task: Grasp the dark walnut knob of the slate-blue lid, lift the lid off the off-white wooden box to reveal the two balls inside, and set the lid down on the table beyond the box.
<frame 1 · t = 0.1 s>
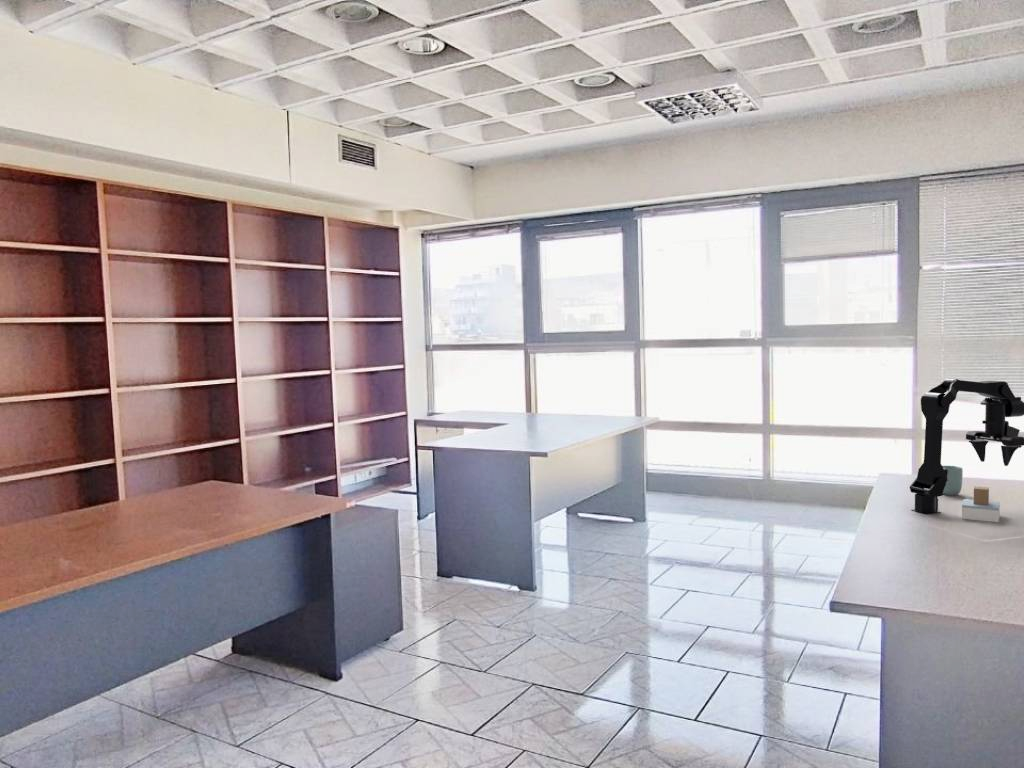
hand: (994, 463, 265), 15 cm above the table, fingers open, 9 cm apart
box: (980, 518, 250), on the table
lid: (981, 506, 250), point 4 cm above the table, touching box
ball terracotta: (981, 515, 252), resting on box
cup: (949, 494, 286), on the table
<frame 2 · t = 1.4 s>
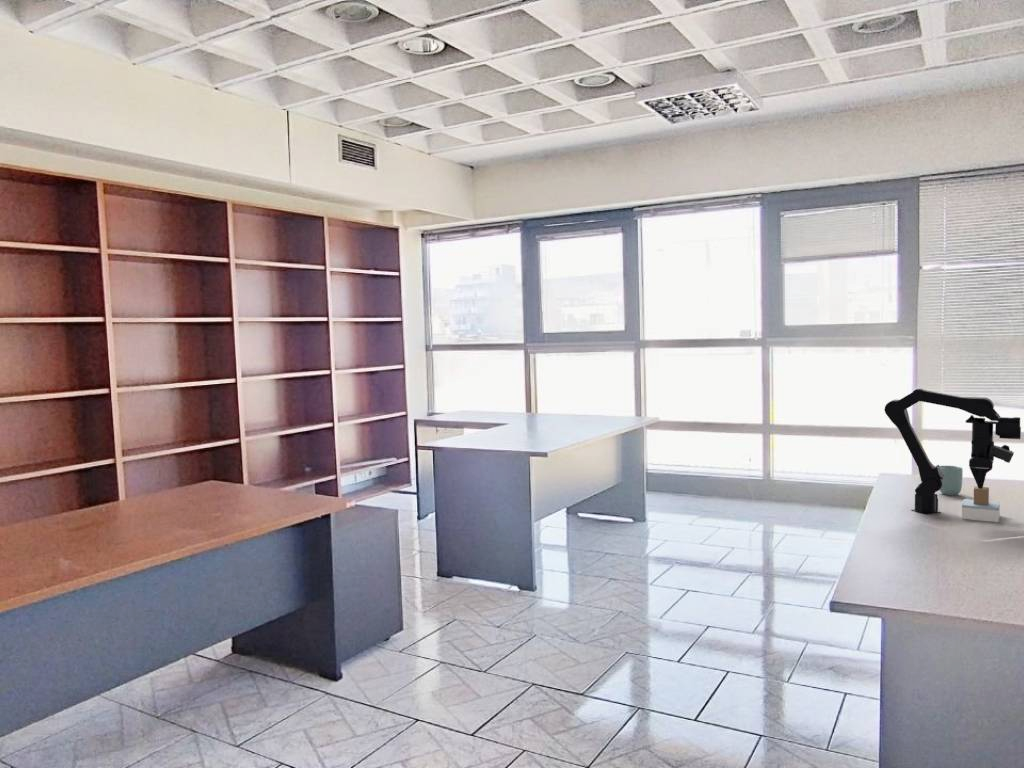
hand: (981, 485, 249), 10 cm above the table, fingers open, 9 cm apart
nothing on the table moved.
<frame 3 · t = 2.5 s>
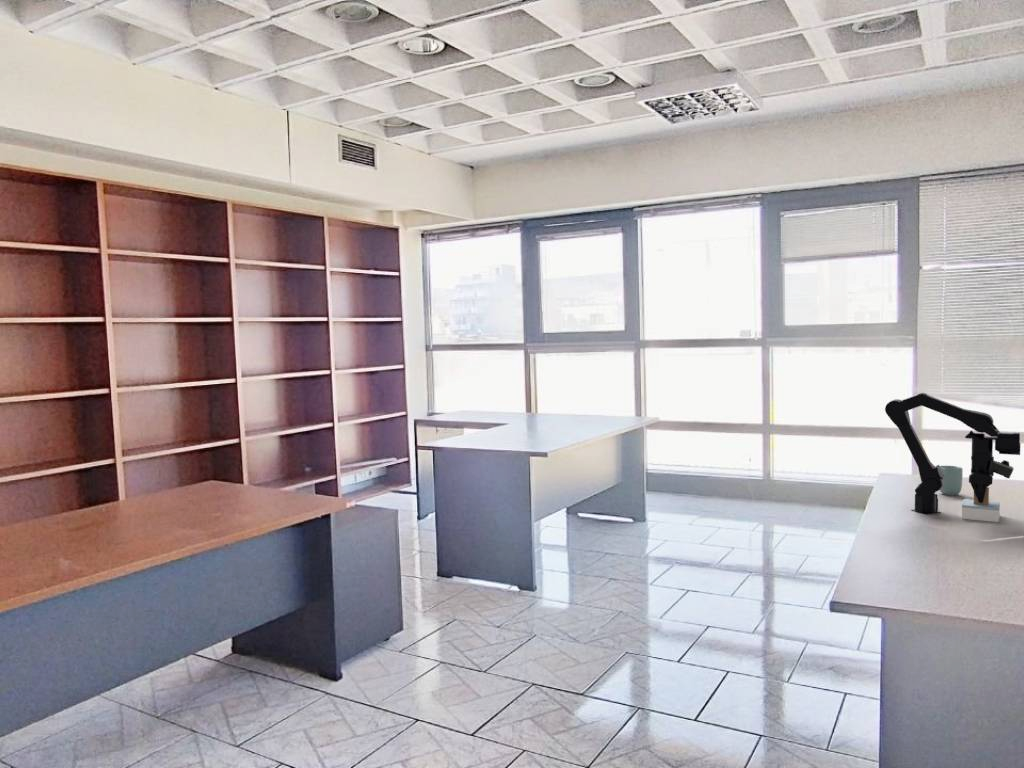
hand: (981, 501, 250), 6 cm above the table, fingers closed on lid, 4 cm apart
lid: (981, 506, 250), point 4 cm above the table, touching box, gripper
everything else where it was.
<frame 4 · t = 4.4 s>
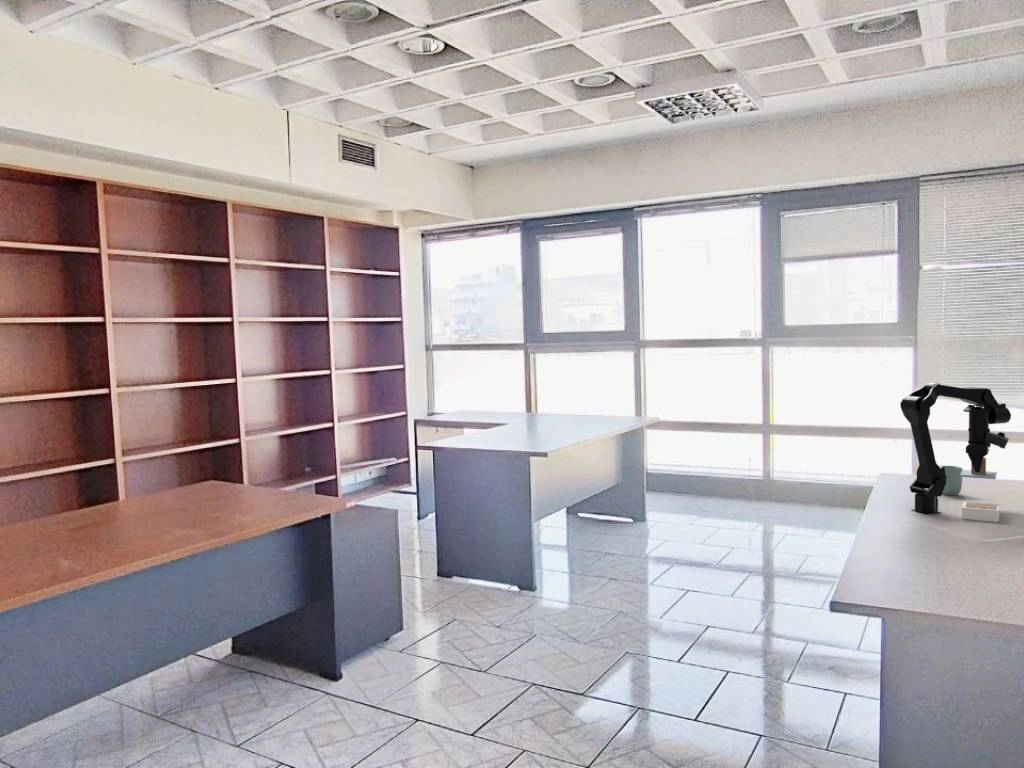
hand: (978, 471, 263), 13 cm above the table, fingers closed on lid, 4 cm apart
lid: (978, 475, 263), point 11 cm above the table, touching gripper
everything else where it was.
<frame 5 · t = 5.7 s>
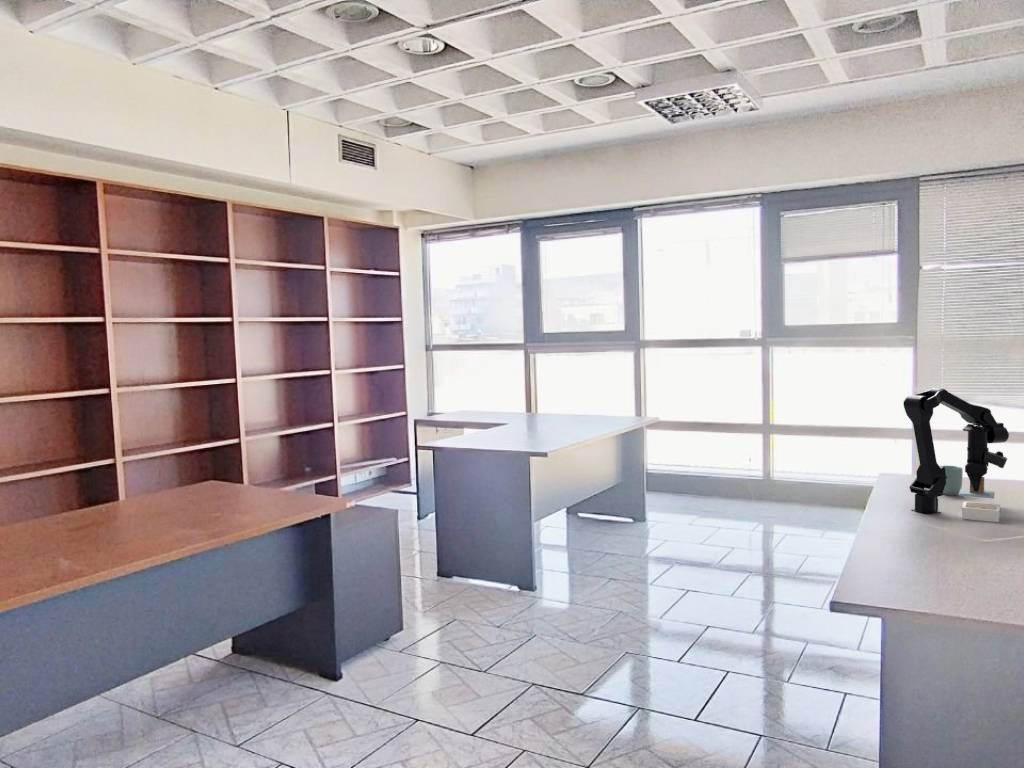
hand: (976, 490, 264), 6 cm above the table, fingers closed on lid, 4 cm apart
lid: (976, 494, 264), point 5 cm above the table, touching gripper
everything else where it was.
when the fingers open (3 cm above the table, at t = 6.6 s): lid drops 2 cm, on the table.
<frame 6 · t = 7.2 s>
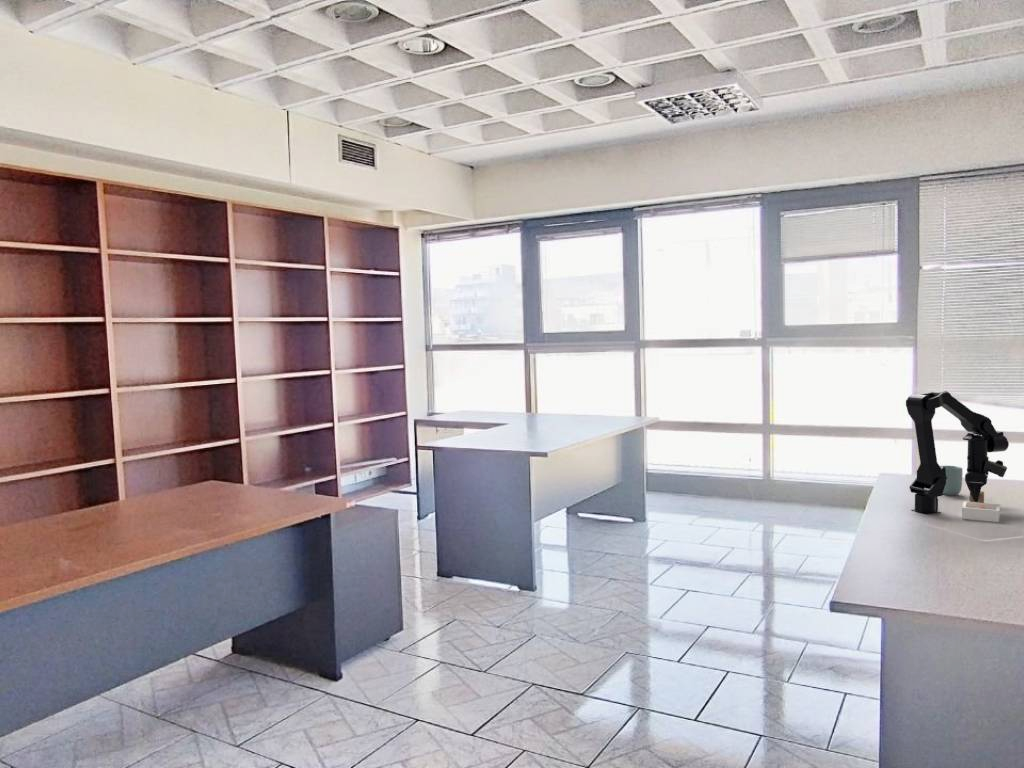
hand: (976, 499, 264), 3 cm above the table, fingers open, 9 cm apart
lid: (976, 509, 264), on the table
everything else where it was.
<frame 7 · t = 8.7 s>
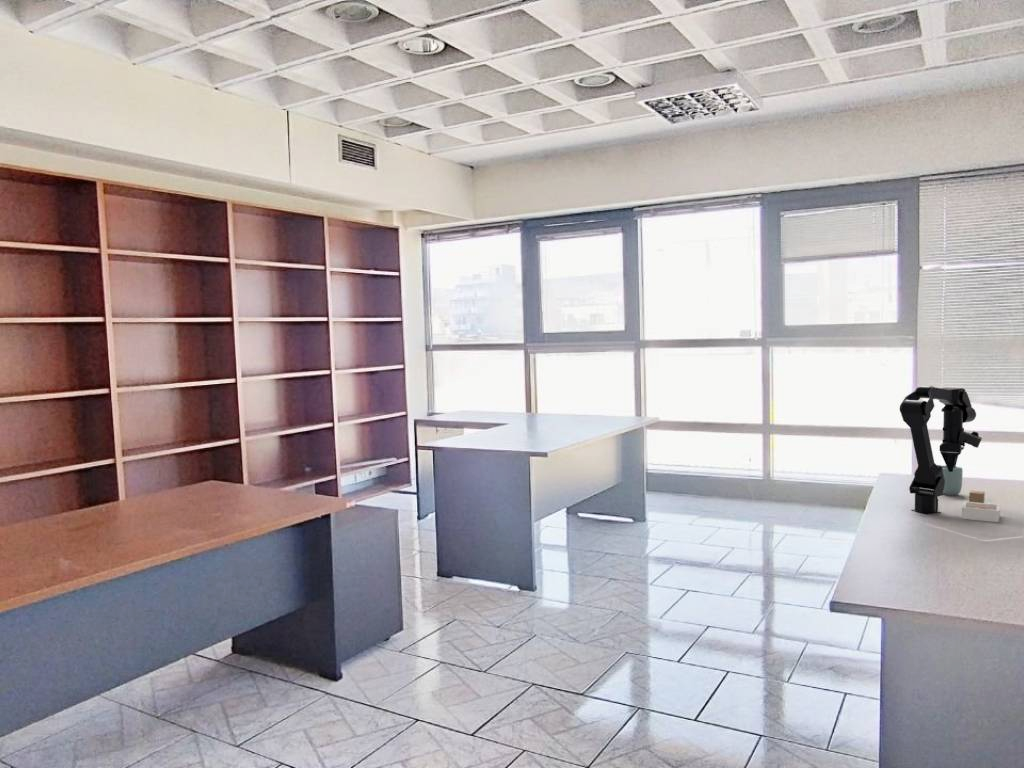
hand: (952, 469, 268), 12 cm above the table, fingers open, 9 cm apart
nothing on the table moved.
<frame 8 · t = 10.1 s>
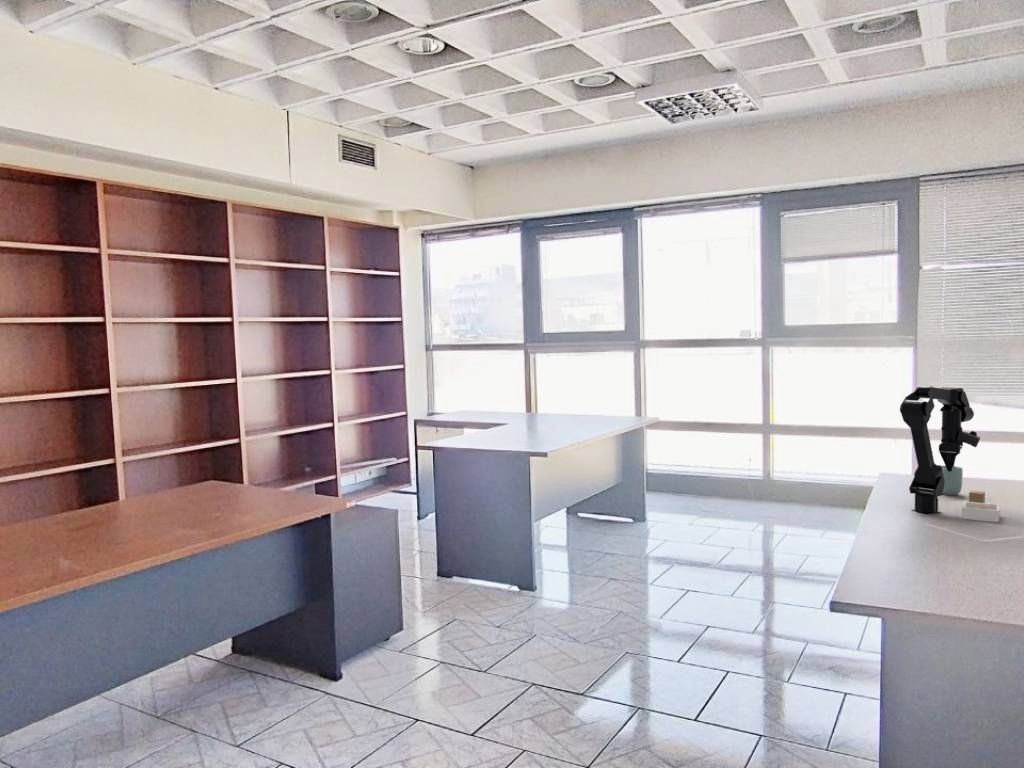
hand: (950, 469, 268), 13 cm above the table, fingers open, 9 cm apart
nothing on the table moved.
at the end: lid inside the target area (0.1 cm from its centre), on the table; lid touching table; lid tilted 0° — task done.
